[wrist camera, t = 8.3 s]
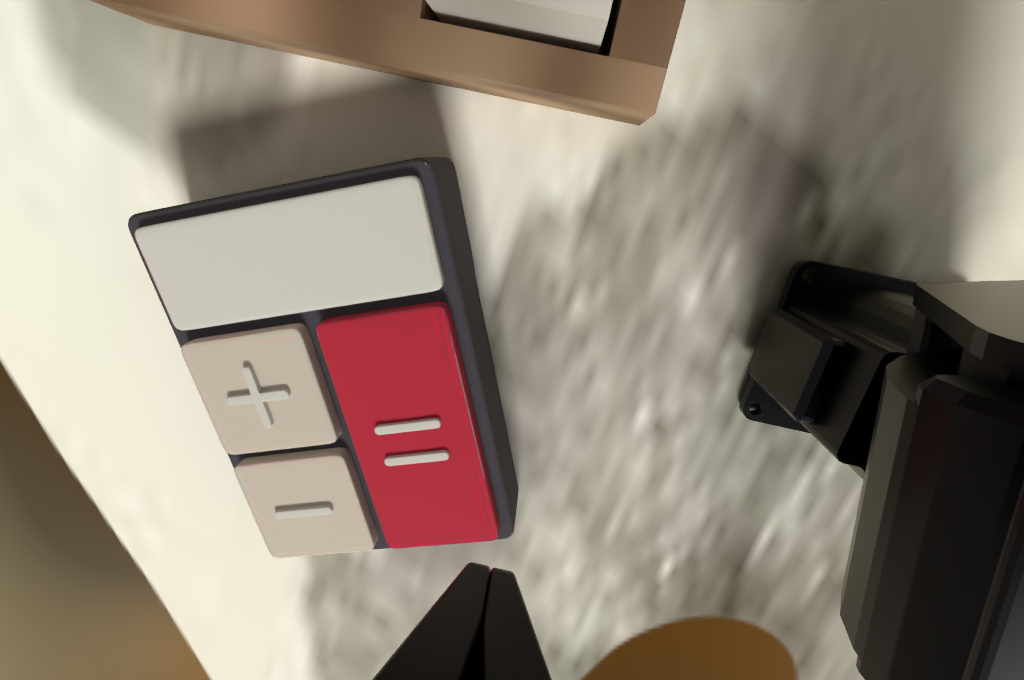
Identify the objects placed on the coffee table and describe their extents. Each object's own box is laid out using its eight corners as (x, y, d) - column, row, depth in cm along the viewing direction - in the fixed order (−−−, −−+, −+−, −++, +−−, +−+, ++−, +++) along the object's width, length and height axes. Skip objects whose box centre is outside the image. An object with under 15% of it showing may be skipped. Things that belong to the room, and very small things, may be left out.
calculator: (262, 573, 21) (100, 218, 16) (309, 505, 25) (192, 206, 20) (514, 554, 19) (424, 154, 14) (521, 485, 23) (453, 154, 18)
